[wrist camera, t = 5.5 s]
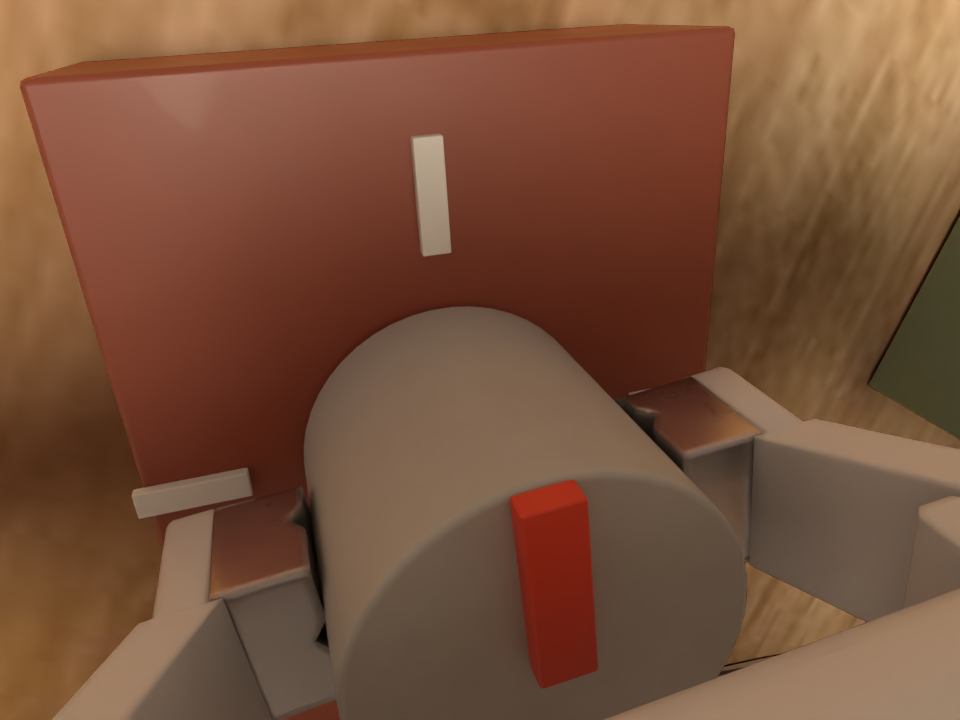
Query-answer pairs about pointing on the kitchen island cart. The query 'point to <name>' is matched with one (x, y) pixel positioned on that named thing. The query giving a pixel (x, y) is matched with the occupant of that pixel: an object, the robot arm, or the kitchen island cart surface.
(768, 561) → the robot arm
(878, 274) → the kitchen island cart surface
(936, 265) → the green rectangular box
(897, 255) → the kitchen island cart surface
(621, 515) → the knob
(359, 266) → the panel
